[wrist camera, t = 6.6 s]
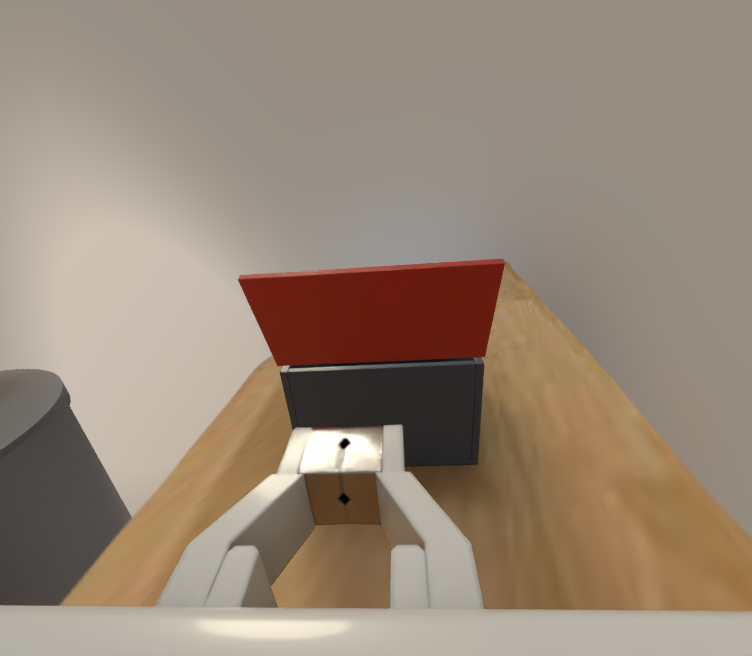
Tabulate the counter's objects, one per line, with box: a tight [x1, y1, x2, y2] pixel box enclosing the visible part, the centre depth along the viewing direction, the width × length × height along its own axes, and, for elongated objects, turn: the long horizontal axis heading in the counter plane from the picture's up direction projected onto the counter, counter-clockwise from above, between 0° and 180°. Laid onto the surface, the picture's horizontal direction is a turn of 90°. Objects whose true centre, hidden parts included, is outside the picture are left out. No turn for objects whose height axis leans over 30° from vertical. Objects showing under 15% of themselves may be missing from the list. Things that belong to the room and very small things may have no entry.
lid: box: [238, 259, 505, 366], centre depth 19 cm, size 7×13×1 cm
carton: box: [280, 357, 484, 466], centre depth 30 cm, size 14×13×8 cm
